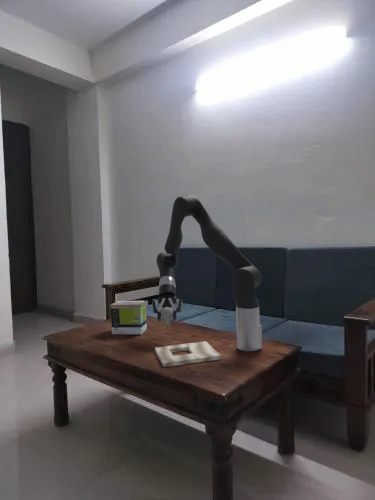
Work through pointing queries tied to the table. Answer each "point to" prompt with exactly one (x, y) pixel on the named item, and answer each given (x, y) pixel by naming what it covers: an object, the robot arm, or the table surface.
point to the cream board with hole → (197, 350)
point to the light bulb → (167, 316)
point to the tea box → (128, 317)
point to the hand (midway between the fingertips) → (167, 320)
